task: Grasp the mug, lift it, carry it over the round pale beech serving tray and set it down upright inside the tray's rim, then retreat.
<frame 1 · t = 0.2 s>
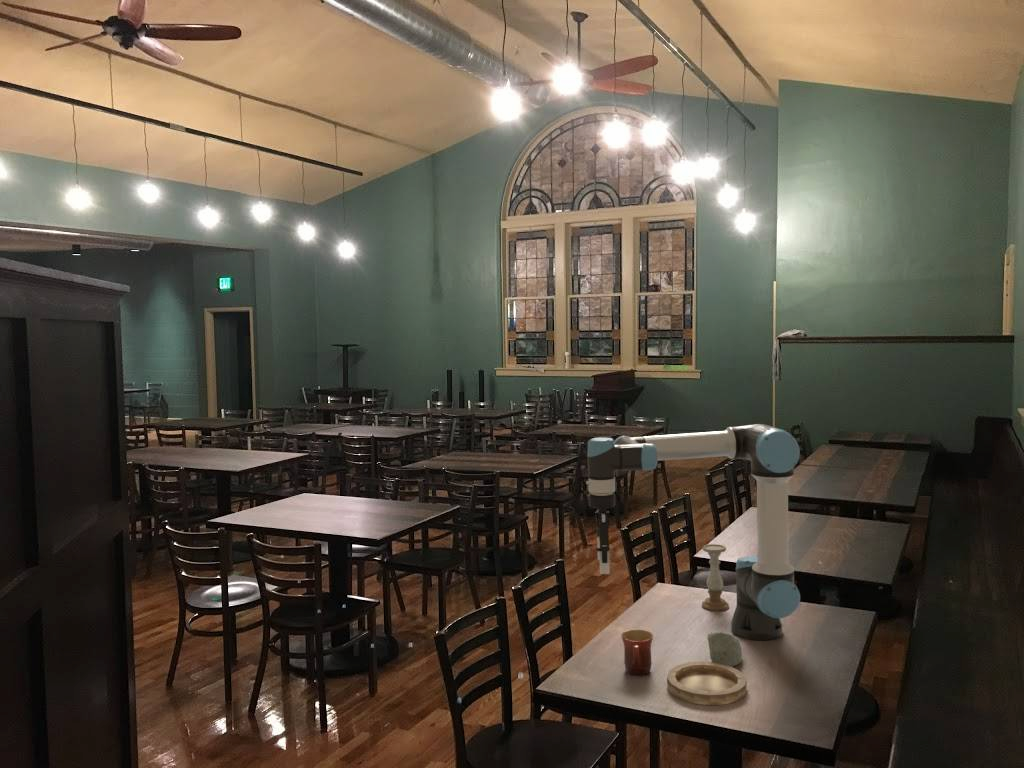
hand: (603, 566, 239), 27 cm above the table, fingers open, 13 cm apart
mug: (637, 674, 230), on the table
decorative stone: (725, 661, 236), on the table
candle holder: (715, 607, 280), on the table
round tray: (706, 687, 220), on the table
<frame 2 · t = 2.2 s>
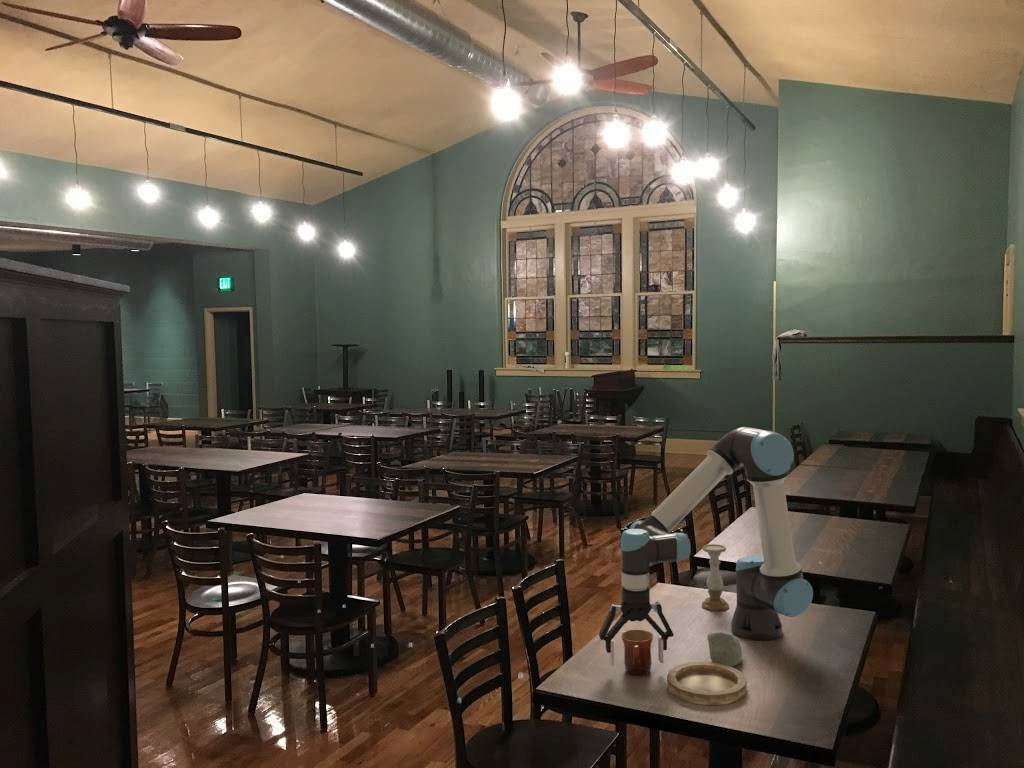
hand: (636, 662, 230), 3 cm above the table, fingers open, 13 cm apart
nothing on the table moved.
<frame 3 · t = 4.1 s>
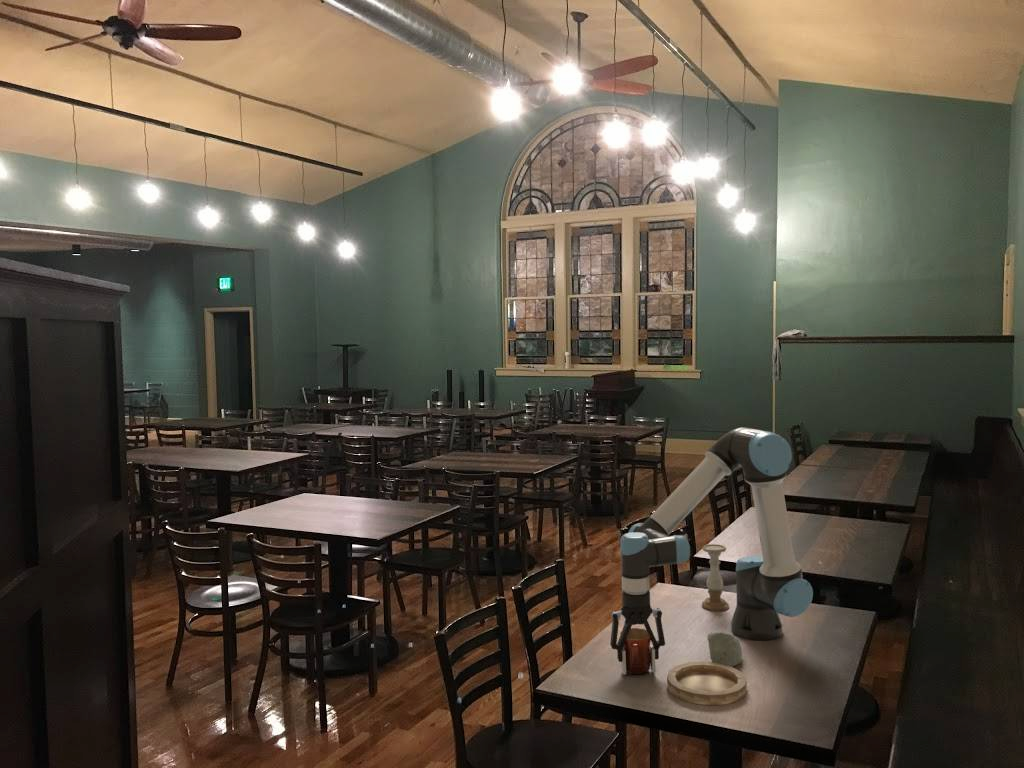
hand: (638, 671, 230), 1 cm above the table, fingers closed on mug, 7 cm apart
mug: (636, 673, 230), on the table, touching gripper
everything else where it was.
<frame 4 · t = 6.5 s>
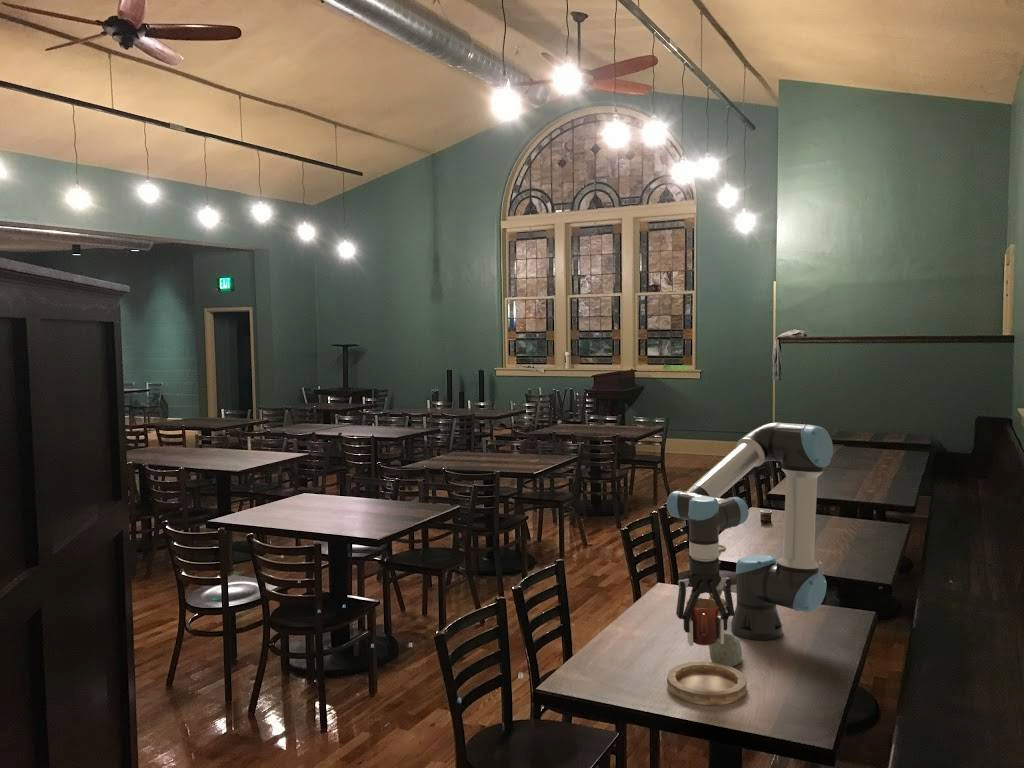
hand: (705, 642, 219), 12 cm above the table, fingers closed on mug, 7 cm apart
mug: (703, 644, 219), point 12 cm above the table, touching gripper
everything else where it was.
when the fingers open (2 cm above the table, at t = 9.0 s): mug moves 1 cm, resting on round tray.
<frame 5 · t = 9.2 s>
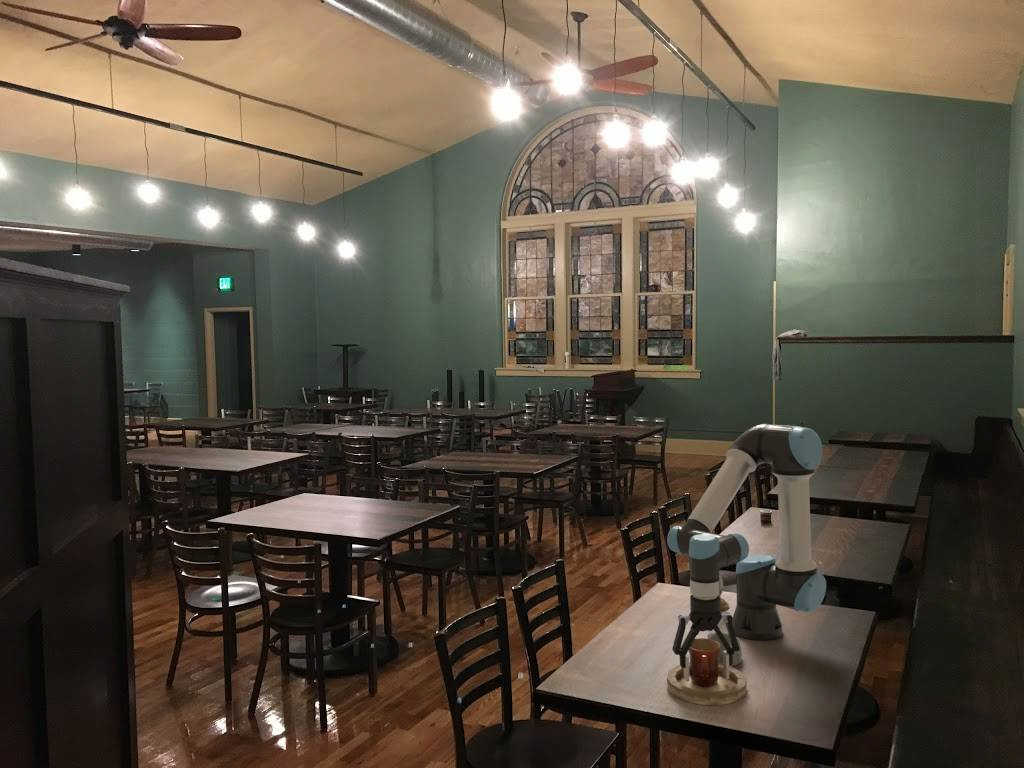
hand: (706, 677, 220), 3 cm above the table, fingers open, 10 cm apart
mug: (704, 685, 220), point 1 cm above the table, touching round tray
everything else where it was.
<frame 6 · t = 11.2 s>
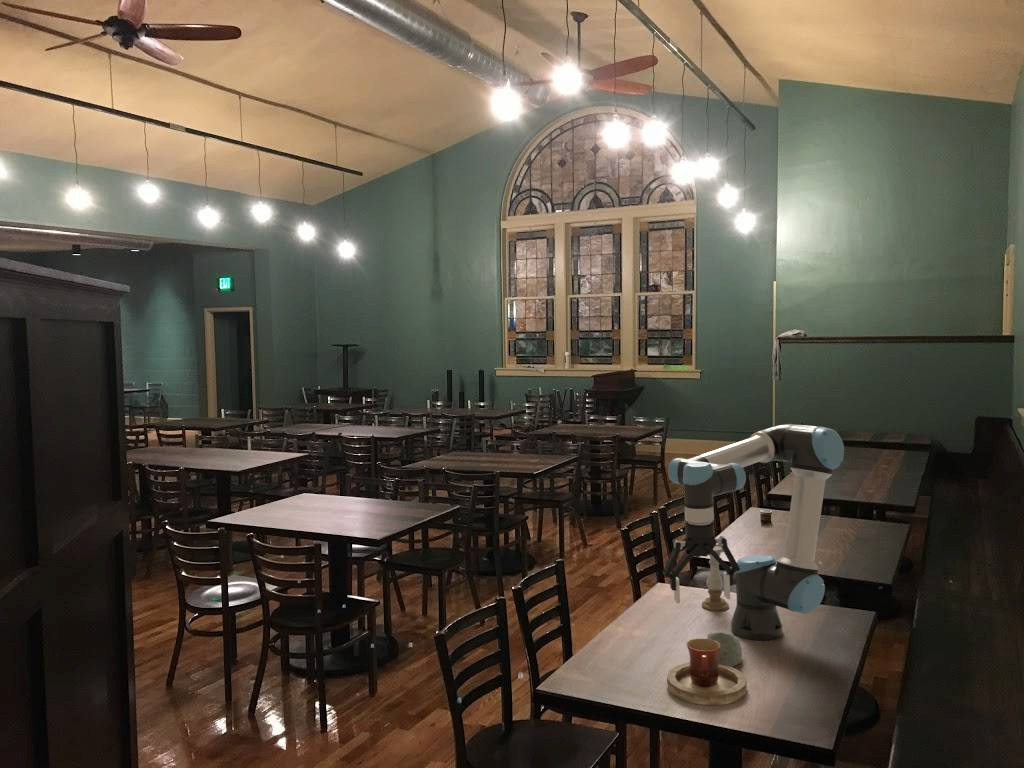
hand: (702, 599, 223), 22 cm above the table, fingers open, 13 cm apart
nothing on the table moved.
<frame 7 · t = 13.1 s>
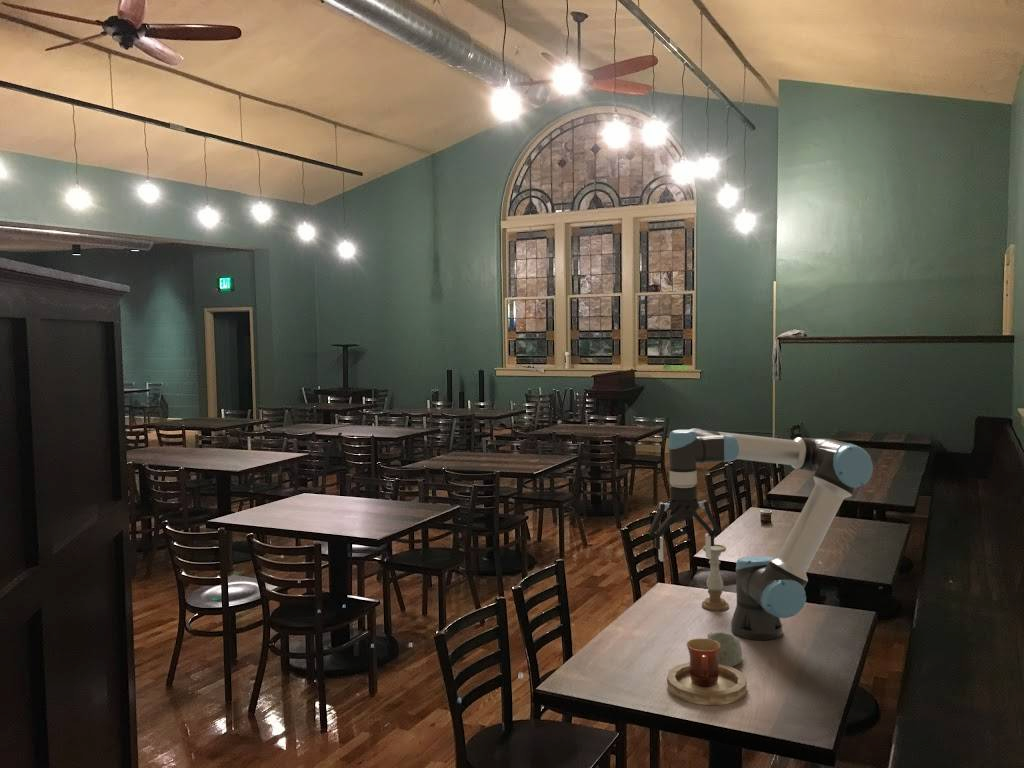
hand: (684, 559, 238), 29 cm above the table, fingers open, 13 cm apart
nothing on the table moved.
at the end: mug inside the target area on the round tray (0.5 cm from its centre), point 0.6 cm above the round tray's base; mug tilted 0°; the gripper is holding nothing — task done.
